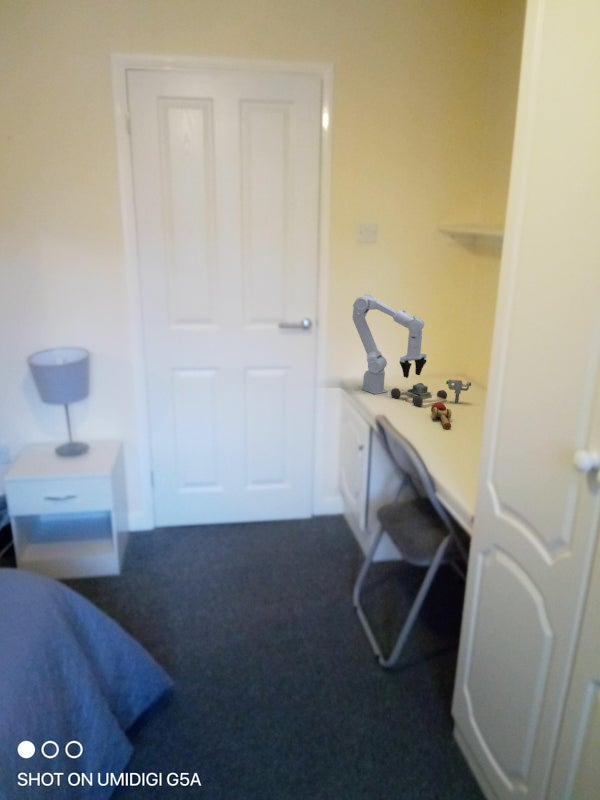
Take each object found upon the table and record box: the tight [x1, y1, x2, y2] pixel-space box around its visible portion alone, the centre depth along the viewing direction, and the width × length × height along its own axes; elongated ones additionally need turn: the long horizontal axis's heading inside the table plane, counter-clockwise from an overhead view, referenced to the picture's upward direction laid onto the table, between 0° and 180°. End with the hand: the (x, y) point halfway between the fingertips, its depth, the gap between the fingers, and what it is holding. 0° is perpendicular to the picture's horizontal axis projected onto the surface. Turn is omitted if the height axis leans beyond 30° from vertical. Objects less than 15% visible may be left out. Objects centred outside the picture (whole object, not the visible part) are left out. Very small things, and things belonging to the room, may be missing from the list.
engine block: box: [412, 383, 428, 396], centre depth 261 cm, size 5×4×5 cm
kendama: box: [430, 402, 453, 430], centre depth 235 cm, size 8×6×18 cm
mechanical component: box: [445, 379, 472, 404], centre depth 257 cm, size 3×10×10 cm, turn 78°
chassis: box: [390, 382, 448, 409], centre depth 262 cm, size 20×17×4 cm
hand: (411, 375), depth 264 cm, fingers open, 7 cm apart
